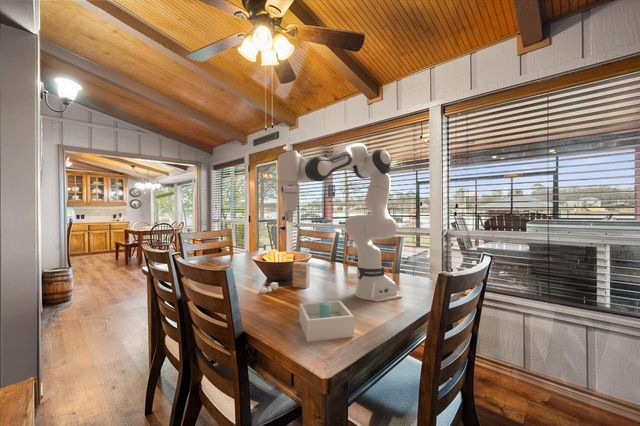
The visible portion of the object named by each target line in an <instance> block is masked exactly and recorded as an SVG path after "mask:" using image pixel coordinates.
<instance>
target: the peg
mask: <svg viewBox="0 0 640 426" xmlns="http://www.w3.org/2000/svg"><path fill="white" fill-rule="evenodd" d="M321 302H322V303H320V318H328V317H331V304H330V303H328V301H321Z"/></svg>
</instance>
